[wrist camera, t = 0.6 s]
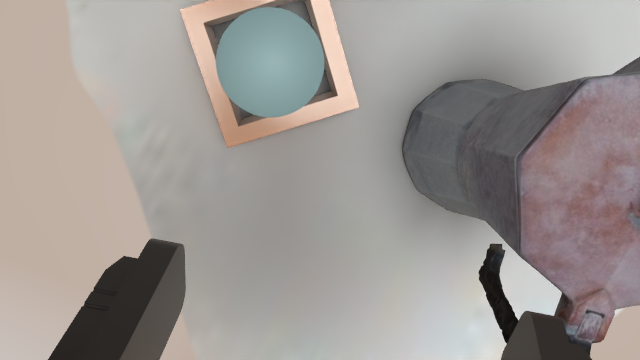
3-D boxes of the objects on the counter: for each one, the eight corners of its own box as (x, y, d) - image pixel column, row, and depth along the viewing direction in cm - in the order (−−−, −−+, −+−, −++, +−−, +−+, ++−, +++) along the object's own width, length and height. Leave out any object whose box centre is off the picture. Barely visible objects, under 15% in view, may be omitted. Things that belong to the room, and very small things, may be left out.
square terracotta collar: (190, 14, 34) (179, 9, 30) (314, -24, 34) (319, -34, 30) (232, 138, 36) (227, 148, 32) (350, 101, 36) (359, 107, 32)
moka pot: (568, 52, 37) (902, 51, 17) (500, 268, 40) (717, 476, 20) (431, 17, 35) (621, -26, 16) (372, 243, 38) (470, 438, 19)
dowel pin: (232, 37, 35) (200, 25, 20) (293, 18, 35) (306, -7, 20) (252, 99, 36) (236, 130, 21) (311, 80, 36) (337, 99, 21)
